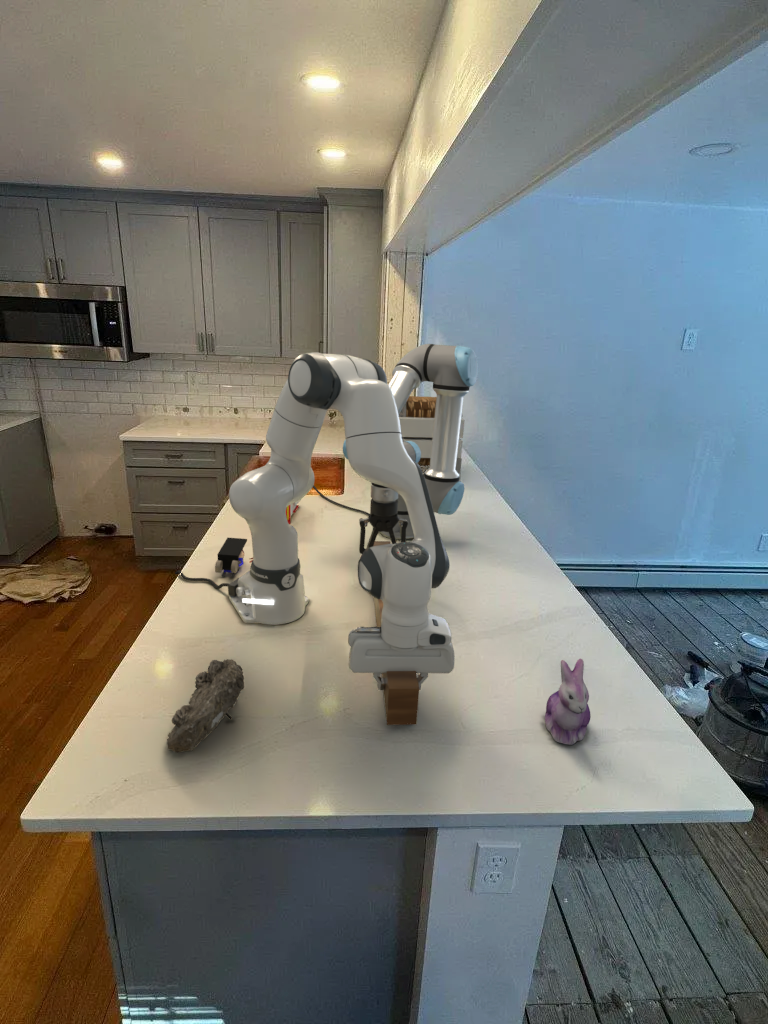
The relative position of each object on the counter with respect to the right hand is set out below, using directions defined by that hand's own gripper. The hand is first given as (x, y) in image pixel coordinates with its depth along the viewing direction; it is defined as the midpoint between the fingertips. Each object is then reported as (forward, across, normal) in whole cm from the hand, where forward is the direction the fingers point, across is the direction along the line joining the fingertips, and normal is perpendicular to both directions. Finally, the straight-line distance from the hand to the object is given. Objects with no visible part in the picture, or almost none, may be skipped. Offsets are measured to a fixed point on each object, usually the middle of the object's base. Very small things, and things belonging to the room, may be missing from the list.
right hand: (381, 575), depth 163 cm
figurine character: (+2, -44, +8) cm, 44 cm away
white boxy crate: (+4, +27, +116) cm, 120 cm away
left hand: (-3, -1, -54) cm, 54 cm away
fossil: (+2, -36, -56) cm, 67 cm away
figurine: (+2, +31, -61) cm, 69 cm away
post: (0, 0, -27) cm, 27 cm away
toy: (+3, -33, +54) cm, 63 cm away
